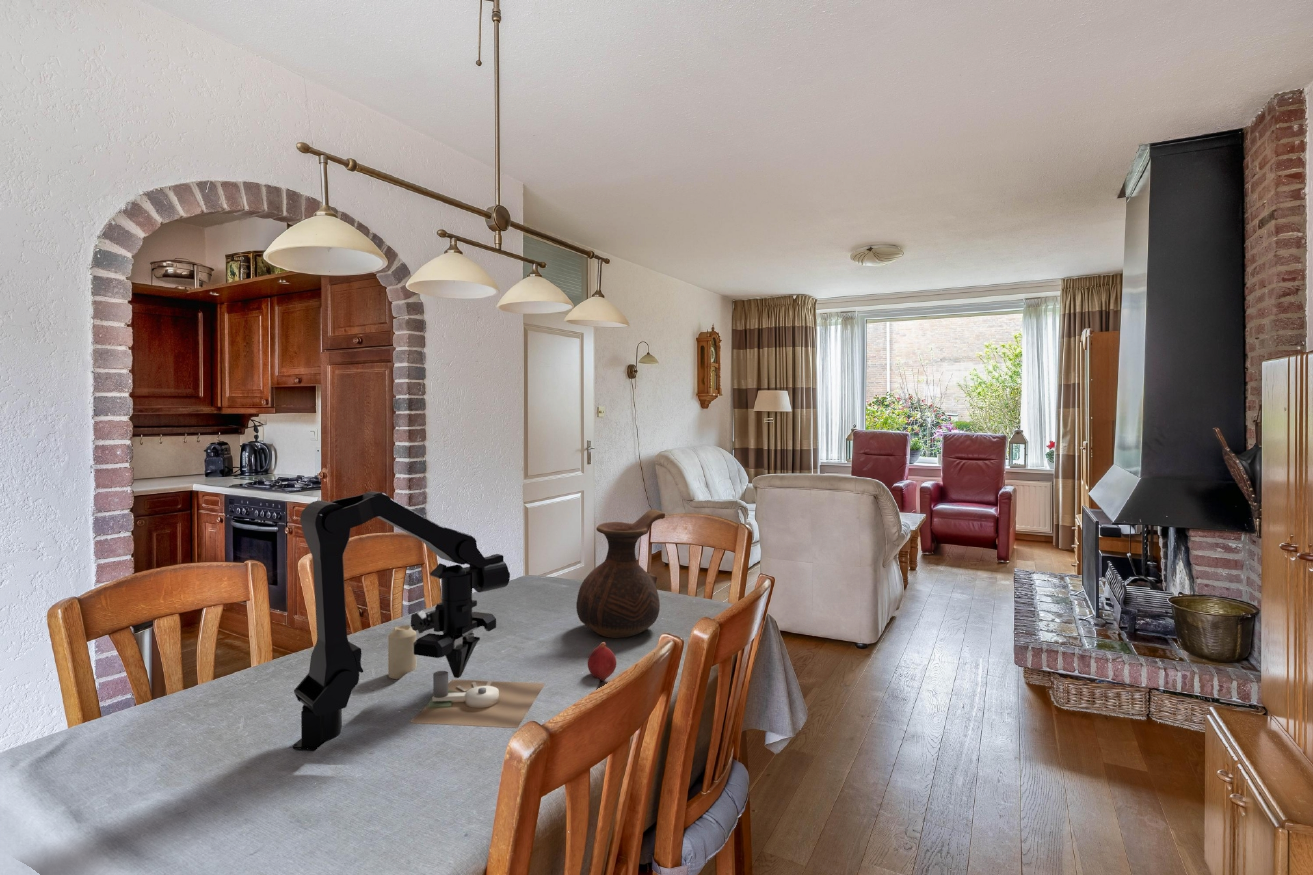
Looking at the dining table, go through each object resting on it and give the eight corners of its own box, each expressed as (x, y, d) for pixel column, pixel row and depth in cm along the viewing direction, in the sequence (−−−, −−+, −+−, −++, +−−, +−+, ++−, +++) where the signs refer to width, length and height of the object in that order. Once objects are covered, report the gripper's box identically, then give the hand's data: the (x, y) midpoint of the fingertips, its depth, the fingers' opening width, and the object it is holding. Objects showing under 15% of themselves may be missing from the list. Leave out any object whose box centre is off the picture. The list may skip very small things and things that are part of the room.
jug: (653, 646, 158) (655, 520, 157) (565, 641, 161) (566, 517, 160) (666, 619, 179) (668, 508, 178) (588, 614, 182) (589, 505, 181)
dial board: (517, 734, 113) (517, 725, 113) (409, 729, 115) (409, 720, 115) (545, 689, 132) (545, 681, 132) (452, 685, 134) (452, 677, 134)
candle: (406, 680, 136) (406, 632, 136) (382, 678, 137) (382, 630, 137) (421, 670, 142) (421, 623, 141) (398, 668, 143) (398, 622, 142)
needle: (500, 693, 127) (500, 665, 127) (496, 707, 121) (496, 678, 121) (437, 695, 126) (437, 667, 126) (429, 709, 120) (429, 679, 120)
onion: (590, 687, 133) (590, 648, 133) (585, 676, 139) (585, 638, 139) (618, 684, 135) (619, 645, 135) (612, 674, 141) (613, 636, 140)
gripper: (451, 581, 139) (451, 655, 140) (388, 606, 122) (389, 690, 122) (497, 586, 136) (497, 662, 136) (439, 612, 118) (440, 698, 119)
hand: (457, 677), depth 129 cm, fingers closed
